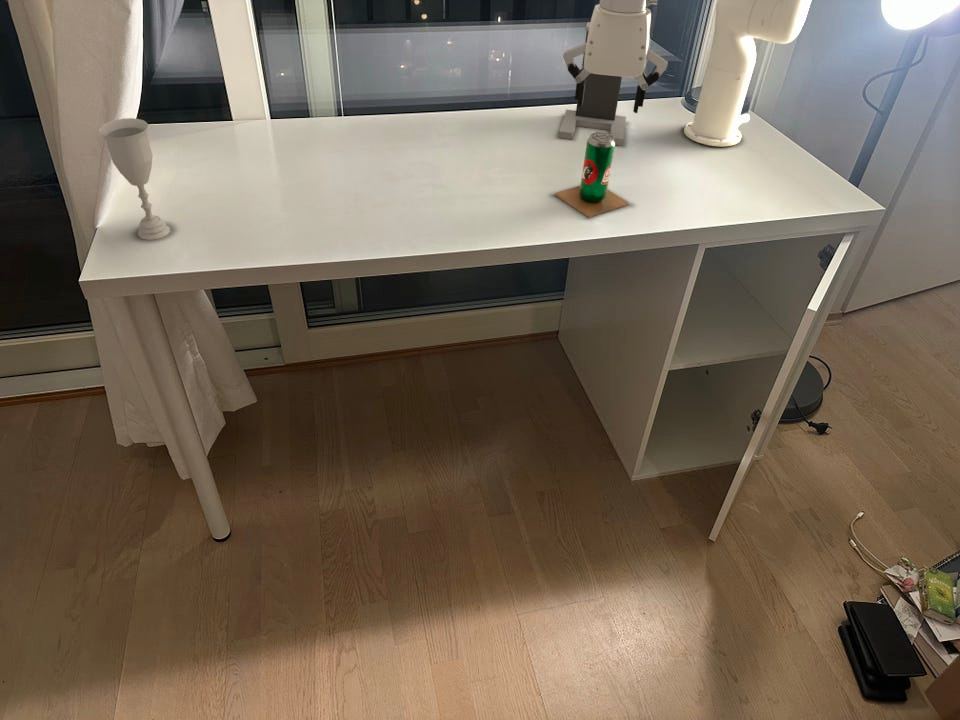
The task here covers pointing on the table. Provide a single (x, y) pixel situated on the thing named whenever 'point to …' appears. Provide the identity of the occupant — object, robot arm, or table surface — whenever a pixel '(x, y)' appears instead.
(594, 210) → the mat
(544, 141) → the table surface
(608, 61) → the robot arm
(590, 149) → the soda can
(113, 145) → the chalice
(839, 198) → the table surface
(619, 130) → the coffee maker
